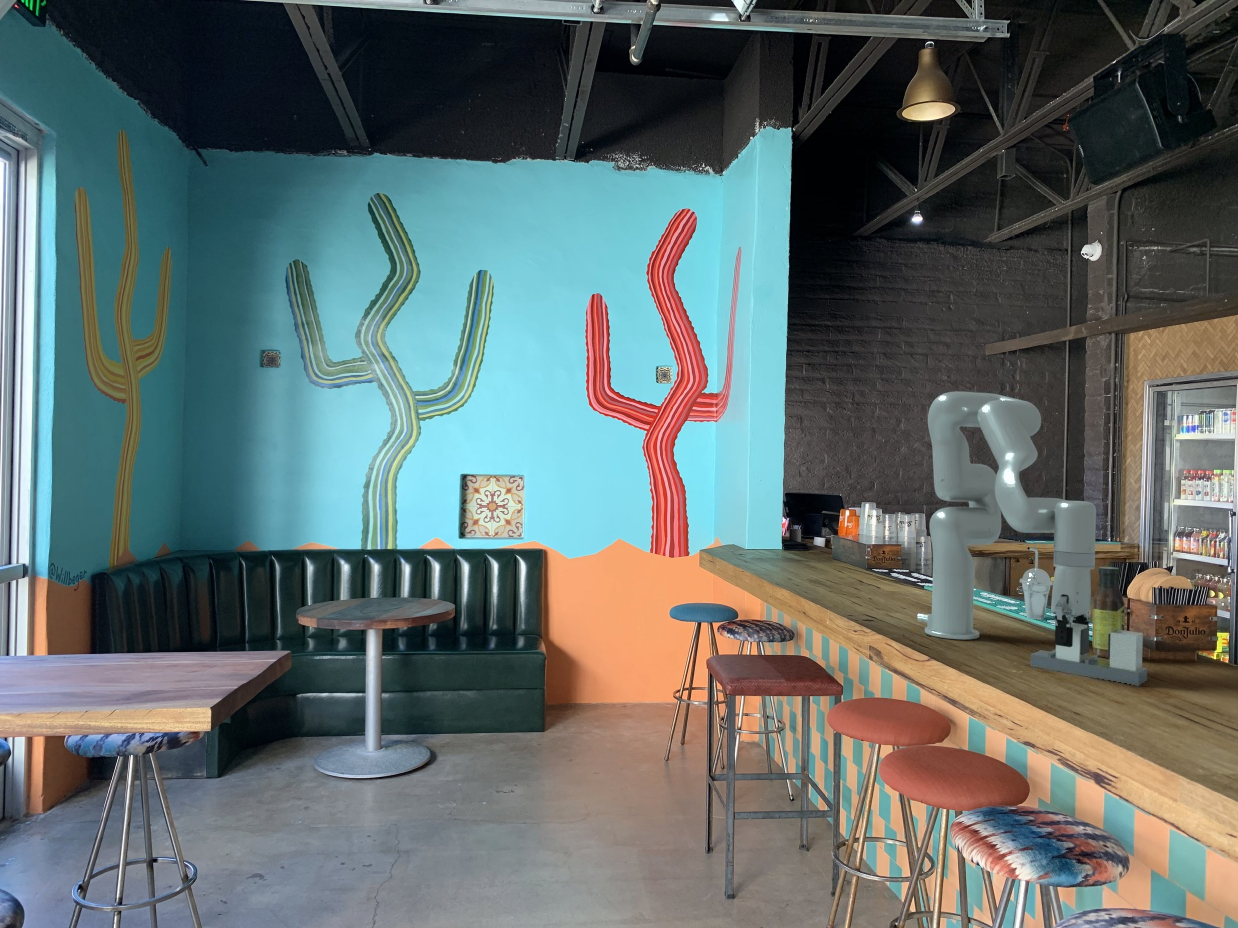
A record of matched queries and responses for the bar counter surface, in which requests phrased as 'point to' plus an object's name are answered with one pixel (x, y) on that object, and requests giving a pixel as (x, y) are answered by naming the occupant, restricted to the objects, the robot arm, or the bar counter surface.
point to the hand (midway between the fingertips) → (1071, 642)
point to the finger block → (1075, 645)
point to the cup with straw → (1035, 590)
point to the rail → (1120, 668)
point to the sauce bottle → (1107, 610)
